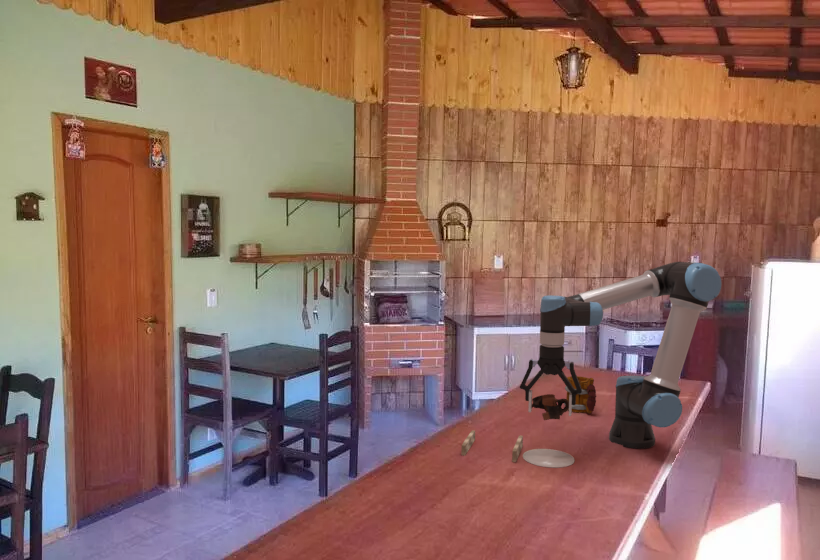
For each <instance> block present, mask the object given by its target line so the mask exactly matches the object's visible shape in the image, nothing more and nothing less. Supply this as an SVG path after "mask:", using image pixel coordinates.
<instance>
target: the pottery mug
mask: <svg viewBox="0 0 820 560" xmlns="http://www.w3.org/2000/svg"><path fill="white" fill-rule="evenodd" d="M564 403H565V405H564ZM563 405H564V408H562V406H563ZM533 408H534V409H542V410H544V411H545V412H542V414H541V416H542V419H543V420H544V421H547V420H549V421H550V420H560V419H561V416H563V415H564V413H567V412H568V409H569V401H568V400H567V399H566V398H560V399H559V398H558V399H557V398H556V395H555V394H551V393H549V394H541V395H538V396H536V397H532V409H533Z"/></svg>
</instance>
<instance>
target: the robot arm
mask: <svg viewBox="0 0 820 560" xmlns="http://www.w3.org/2000/svg"><path fill="white" fill-rule="evenodd" d="M722 284H723V283H722V278H721V275H720V273H719V272H718V270H717V269H716V268H715V267H713V266H712V265H709V264H706V263H701V262H691V261H690V262H687V261H674V262H670V263H666V264H663V265H660V266H656V267H654V268H651V269H648V270H645V271H644V272H643V274H641V275H638V276H635V277H631V278H628V279H627V278H626V279H624V280H621V281H620V280H619V281H617V282H614V283H611V284H608V285H607V284H606V285H603V286H600V287H597V288H594V289H591V290H587V291H583V292H581V293H577V294H574V295H573V294H572V295H570V296H562V295H554V294H553V295H544V296H542V297H541V301H540V309H539V310H540V311H539V312H540V313H539V314H540V315H539V317H540V318H539V319H540V320H539V321H540V323H539V324H540V325H539V327H540V328H539V344H540V345H539V348H538V349H539V351H538V353H539V354H538V360H537V359H533V358H530V359H529V361H528V368H527V370H526V372H525V373H524V374H525V375H524V376H523V378H522V381H521V383H520V385H519V389H520V390H524V392H525V394H524V395H525V398H524V399H525V402H528V410H527V411H528V413H532V409H533V408H532V404H533V401H532V399H533V390H532V388H533V387H534V385H535V384H536V382H538V381H539V379H540V378H541V377H542V375H544V374H545V375H548V376H549V375H551V376H557V375H558V376H559V378H560V379H561V380H562V382H563V383H564V384H565V387H566V386H567V388H568V389H569V391H570V392H571V393H570V394H569V411H568V417H571V416H572V413H573V412H572V405H575V403H576V395H577V394H581V393H582V389H581V386H580V383H579V381H578V378H577V376H578V375H577V373H576V371H575V362H574V361H569V362H566V361H565V359H564V357H565V347H564V345H565V331H566V329H565V327H593V326H600V325H601V323H602V322H603V319H604V310H606V309H610V308H614V307H617V306H621V305H624V304H627V303H631V302H634V301H638V300H640V299H644V298H648V297H652V298H657V297H663V296H669V297H668V299H669V301H670V304H671V307H670V311H669V315H668V318H667V319H666V323H665V327H664V330H663V332H662V336H661V340H660V342H659V345H658V348H657V352H656V355H655V359H654V361H653V365H652V368H651V370H650V371H651V372H650V374H649V375H647V376H646V375H645V376H644V375H622V376H618V377H617V378H616V383H615V403H614V404H615V405H614V407H615V408H614V409H615V410H614V419H613V423H612V425H611V427H610V430H609V431H608V432H609V433H608V439H609V441H610V443H614V444H617V445H620V446H622V447H624V448H629V449H630V448H631V449H638V450H640V449H649V448H650V449H651V448H653V447H655V445H656V436H655V433H654V429H653V426H654V427H657V428H668V427H670V426H672V425H674V424H676V423H677V422H678V420H679V419H680V417H681V415H682V413H683V404H682V402H681V399H680V394H681V390H682V389H681V387H680V386H679V380H680V377H681V374H682V370H683V367H684V364H685V361H686V358H687V356H688V355H687V354H688V352H689V349H690V345H691V342H692V338H693V336H694V333H695V329H696V326H697V323H698V320H699V316H700V313H701V312H703V311H705V310H706V309H708V306H709V302H711V301H712V300H714V299H715V298H717V297H718V296H719V294H720V293H721V290H722ZM536 365H538V367H539V369H540V370H539V371H538V372H537V374H535V376H534V377H533V378H532V379H531V380H530V382H529V383H528V385H526V383H527V381H528V379H529V377H530V374H531V372H532V371H533V368H536ZM565 367H566V369H568V370H569V373H570V375H571V376H572V378H573V381H574V384H575V386H576V390H575V389H574V387H573V386H572V385H571V383H570V382H569V380H568V379H567V377H568V376H567V375H566V374H565V372H564V371H563V369H564V368H565ZM571 376H570V377H571Z"/></svg>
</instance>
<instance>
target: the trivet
mask: <svg viewBox="0 0 820 560" xmlns="http://www.w3.org/2000/svg"><path fill="white" fill-rule="evenodd" d="M522 458H523V460H524V461H525V462H527V463H529V464H531V465H534V466H537V467H543V468H553V469H558V468H566V467H570V466H571V465H574V463H575V457H573V456H572V455H571V454H570V453H567V452H565V451H563V450H562V451H561V450H559V449H558V450H556V449H552V448H551V449H550V448H534V449H529V450H527V451H525V452H523V454H522Z"/></svg>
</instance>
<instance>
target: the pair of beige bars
mask: <svg viewBox="0 0 820 560" xmlns="http://www.w3.org/2000/svg"><path fill="white" fill-rule="evenodd" d="M523 437H524V436H523V435H518V437H517V439H516V442H515V444H514V447H513V448H512V452H511V455H512V460H511V462H512V463H516V462H517V461H518V458H519V456H520V453H521V452H522V448H523V445H524V444H523V443H524V442H523V441H524V440H523V439H524V438H523ZM475 440H476V430H475V429H474V430H473V429H472V430H471V431H470V433H469V434H468V435H467V437H466V438H465V439H464V441H463V443H462V444H461V456H464V457H465V456H467V453H468V452H469V450H470V449H471V447H472V445H473V444H474V442H475Z"/></svg>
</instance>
